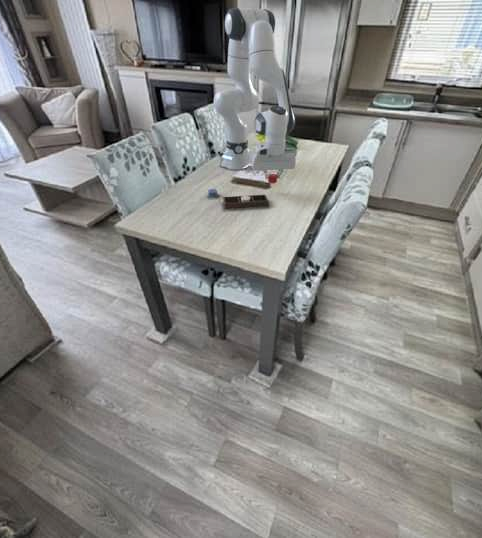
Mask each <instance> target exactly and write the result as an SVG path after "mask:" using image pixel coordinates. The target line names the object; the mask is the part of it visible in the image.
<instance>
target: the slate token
mask: <svg viewBox="0 0 482 538" xmlns="http://www.w3.org/2000/svg"><path fill="white" fill-rule="evenodd" d="M207 193H208V197H210V198H216V197H218V190H217V189H215V188H210V189H208V191H207Z"/></svg>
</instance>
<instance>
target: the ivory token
mask: <svg viewBox="0 0 482 538" xmlns="http://www.w3.org/2000/svg"><path fill="white" fill-rule="evenodd" d="M241 196H242V197H241V202H250V197H249V195H241Z"/></svg>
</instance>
